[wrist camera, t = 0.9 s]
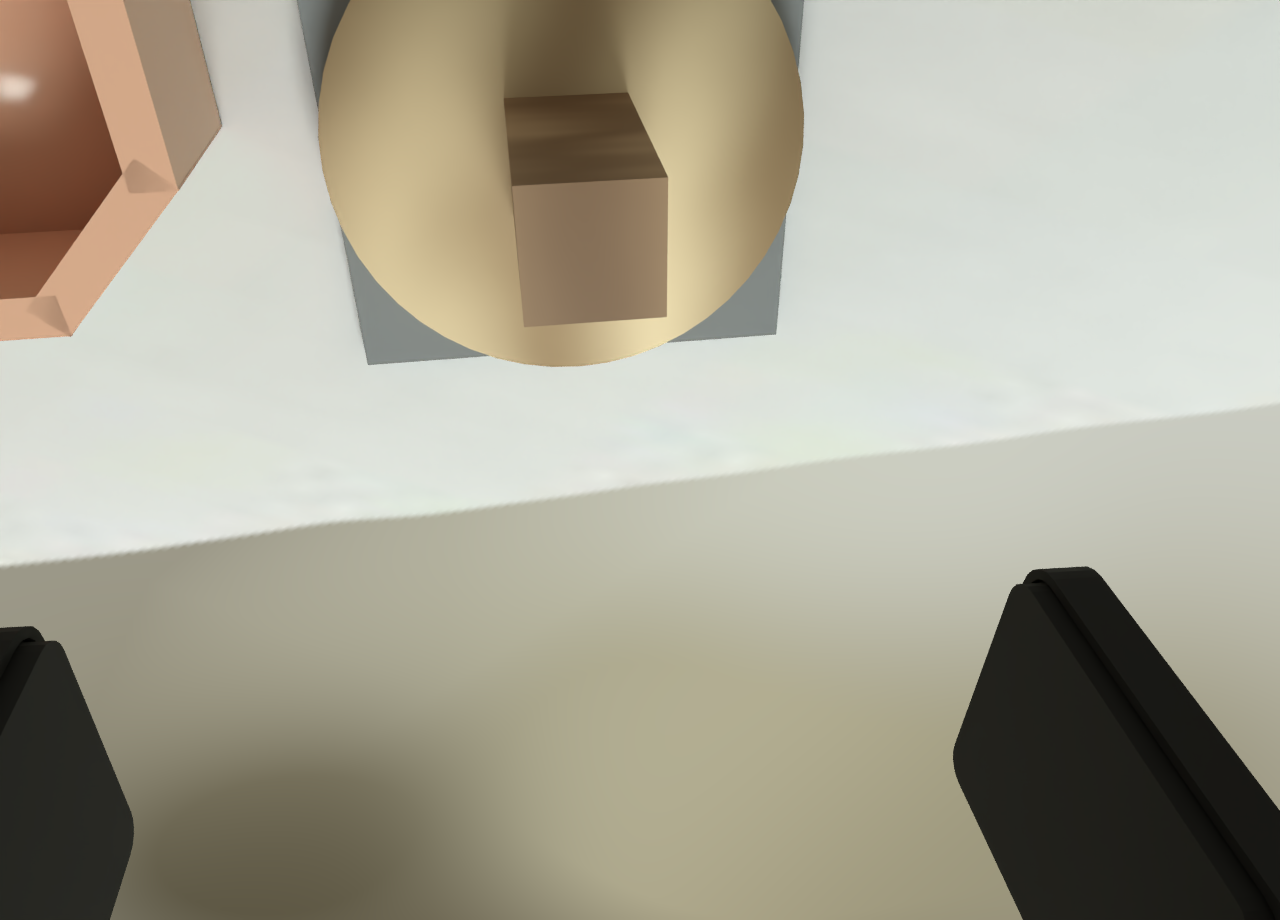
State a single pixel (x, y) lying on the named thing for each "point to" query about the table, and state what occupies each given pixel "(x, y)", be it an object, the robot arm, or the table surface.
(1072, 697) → the robot arm
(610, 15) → the lid
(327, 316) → the table surface
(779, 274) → the mat
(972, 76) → the table surface
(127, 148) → the dish
